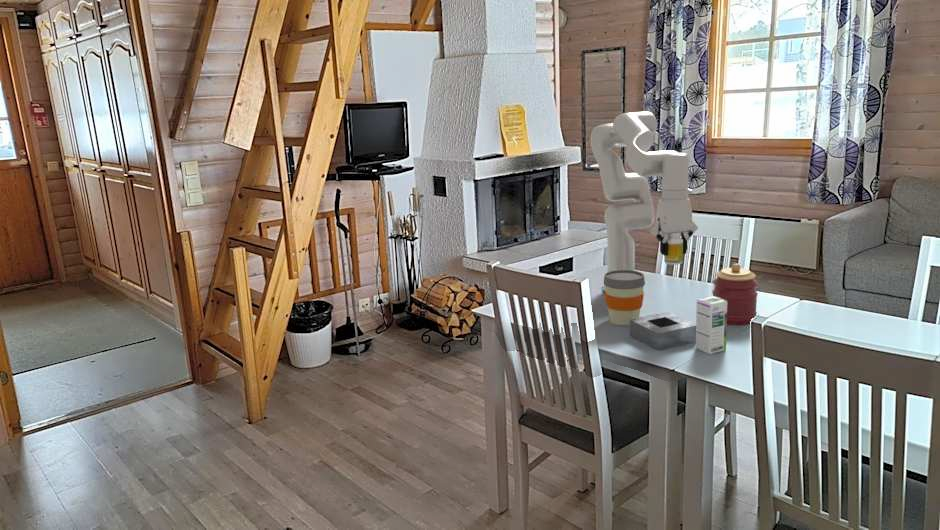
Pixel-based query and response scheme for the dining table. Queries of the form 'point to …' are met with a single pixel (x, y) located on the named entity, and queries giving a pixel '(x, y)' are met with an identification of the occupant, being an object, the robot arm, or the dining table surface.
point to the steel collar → (663, 330)
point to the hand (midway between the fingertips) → (673, 253)
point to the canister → (737, 293)
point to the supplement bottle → (674, 249)
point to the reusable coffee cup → (624, 295)
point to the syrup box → (711, 324)
